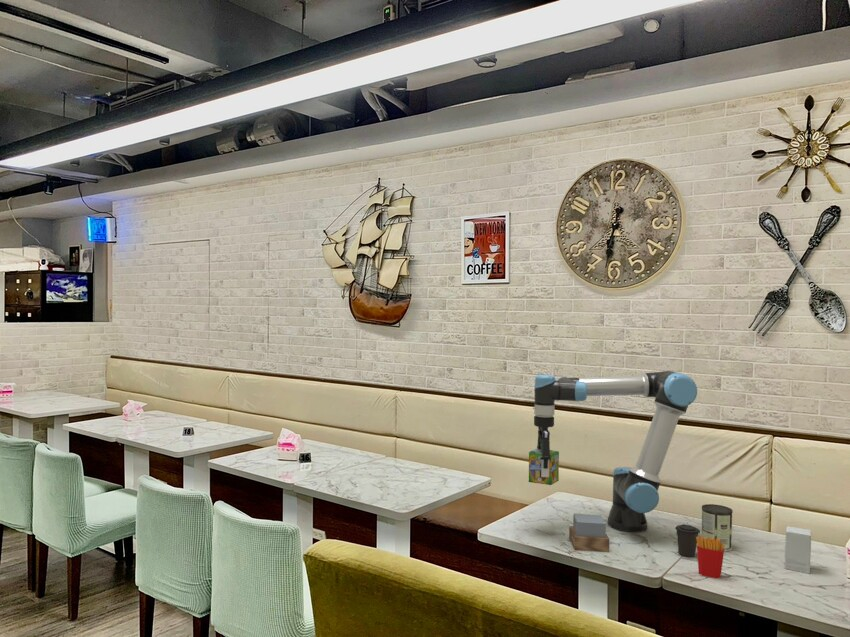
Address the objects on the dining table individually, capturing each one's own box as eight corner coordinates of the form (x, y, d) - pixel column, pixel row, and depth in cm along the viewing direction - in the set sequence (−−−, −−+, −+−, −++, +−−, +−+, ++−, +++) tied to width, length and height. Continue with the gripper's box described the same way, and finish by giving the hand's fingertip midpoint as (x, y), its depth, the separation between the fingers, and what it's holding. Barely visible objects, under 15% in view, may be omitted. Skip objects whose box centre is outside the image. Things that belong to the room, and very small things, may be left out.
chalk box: (550, 486, 231) (551, 446, 231) (527, 482, 236) (528, 443, 236) (559, 480, 239) (560, 442, 239) (536, 477, 244) (537, 439, 243)
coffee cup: (680, 548, 225) (681, 521, 225) (703, 555, 219) (703, 526, 219) (670, 554, 219) (671, 525, 219) (693, 561, 213) (694, 532, 213)
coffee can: (711, 539, 235) (713, 502, 235) (737, 549, 227) (738, 510, 227) (694, 544, 230) (695, 506, 230) (720, 553, 221) (721, 514, 221)
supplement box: (810, 574, 205) (811, 535, 205) (784, 568, 209) (785, 531, 209) (810, 566, 211) (811, 529, 211) (785, 561, 215) (786, 525, 215)
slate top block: (600, 528, 231) (601, 515, 231) (605, 537, 221) (605, 523, 221) (573, 526, 232) (573, 513, 232) (576, 536, 222) (577, 522, 222)
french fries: (723, 575, 202) (725, 538, 202) (722, 580, 198) (723, 542, 198) (695, 569, 206) (696, 533, 206) (693, 573, 203) (694, 536, 203)
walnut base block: (601, 541, 232) (602, 527, 232) (609, 553, 220) (609, 539, 220) (569, 539, 233) (569, 525, 233) (574, 551, 221) (574, 537, 221)
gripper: (530, 410, 250) (529, 465, 250) (537, 420, 226) (536, 480, 226) (549, 411, 249) (548, 465, 249) (558, 421, 225) (557, 481, 225)
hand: (542, 472), depth 237 cm, fingers closed on chalk box, 12 cm apart
